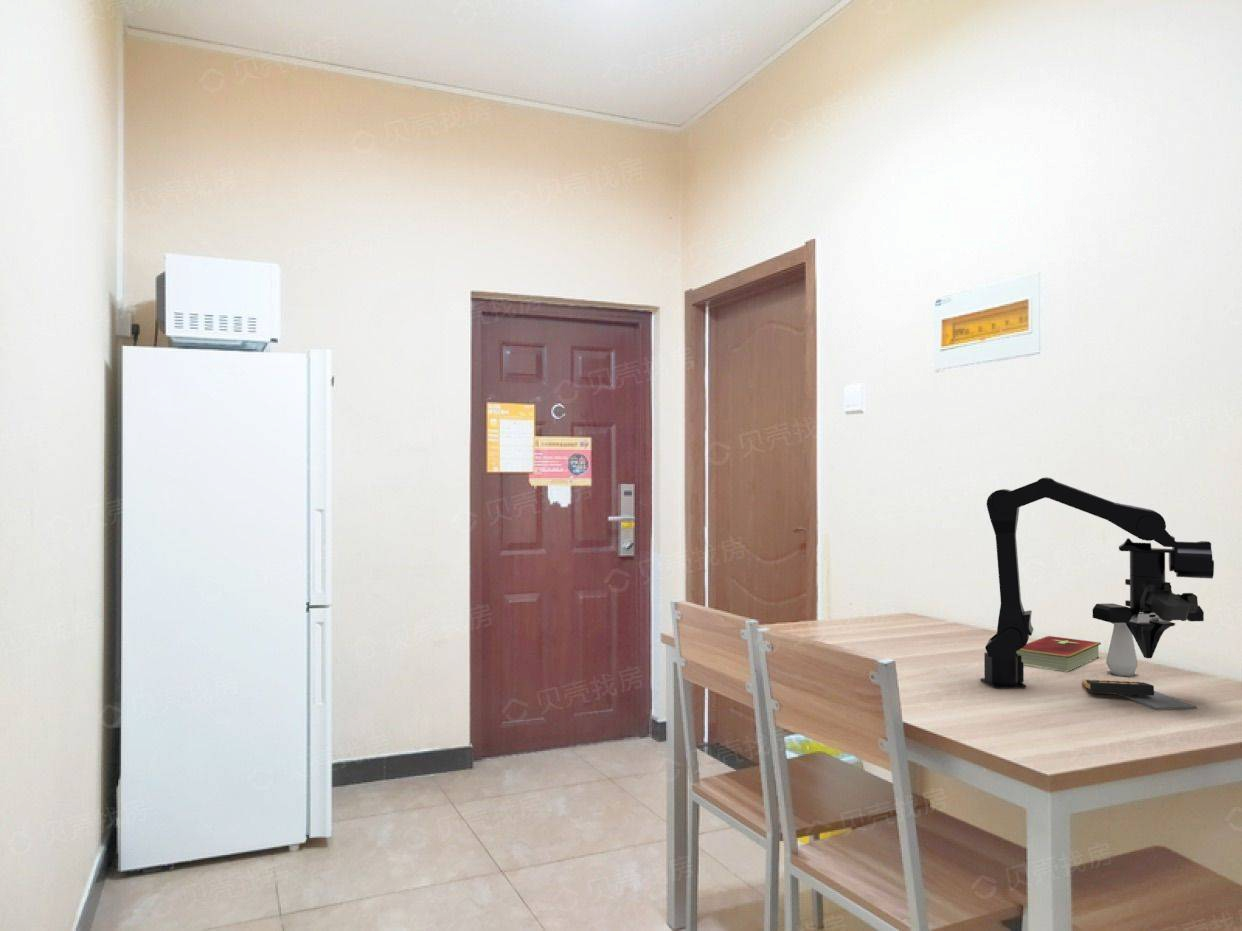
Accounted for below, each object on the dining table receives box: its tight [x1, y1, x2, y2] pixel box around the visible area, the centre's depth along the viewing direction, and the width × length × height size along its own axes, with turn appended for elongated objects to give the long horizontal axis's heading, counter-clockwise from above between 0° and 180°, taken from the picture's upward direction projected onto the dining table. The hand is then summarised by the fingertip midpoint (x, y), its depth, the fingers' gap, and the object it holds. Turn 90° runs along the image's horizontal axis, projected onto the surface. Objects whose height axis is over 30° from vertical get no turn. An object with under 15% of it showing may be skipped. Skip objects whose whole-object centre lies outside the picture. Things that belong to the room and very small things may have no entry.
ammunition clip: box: [1081, 678, 1155, 696], centre depth 169 cm, size 11×2×12 cm
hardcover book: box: [1016, 635, 1102, 673], centre depth 196 cm, size 12×21×4 cm, turn 134°
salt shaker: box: [1105, 623, 1139, 677], centre depth 183 cm, size 6×6×13 cm
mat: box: [1116, 690, 1198, 711], centre depth 163 cm, size 8×12×1 cm, turn 5°
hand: (1147, 657), depth 163 cm, fingers closed
